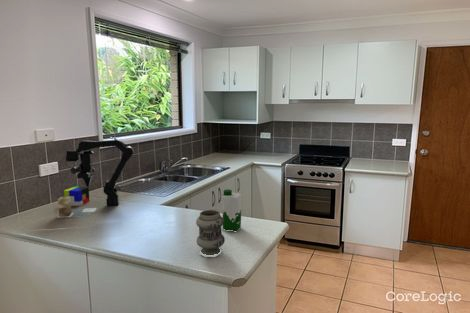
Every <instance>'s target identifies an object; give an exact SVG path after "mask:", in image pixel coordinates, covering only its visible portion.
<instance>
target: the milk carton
mask: <svg viewBox="0 0 470 313" xmlns="http://www.w3.org/2000/svg"><path fill="white" fill-rule="evenodd" d="M221 201H222V218H223V219H224V224H223V225H222V230H223V229H225V230H233V231H237V230H238V229H239V228H240V229H241V226H242V193H237V192H233V190H232V189H224V190H223V194H222V195H221ZM240 229H239V230H240ZM239 230H238V231H239ZM238 231H237V232H238Z"/></svg>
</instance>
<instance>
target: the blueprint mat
mask: <svg viewBox="0 0 470 313" xmlns="http://www.w3.org/2000/svg"><path fill="white" fill-rule="evenodd" d="M96 210H97V207H90V208H78V209H77V208H75V209H73V208H71V211H72V214H71V215H70V216H66V217H59V214H58V215H57V216H56V217H55V219H59V218H60V219H61V218H63V219H65V218H78V217H79V218H80V217H91V216H92V214H93V213H94V212H95V211H96Z"/></svg>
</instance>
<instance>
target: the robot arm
mask: <svg viewBox="0 0 470 313" xmlns="http://www.w3.org/2000/svg"><path fill="white" fill-rule="evenodd" d="M107 147H116V148H117V149H118V150H120V151H121V152H122V153H121V157H120V160H119V163H118V164H117V167H116V168H115V170H114V172H113V174H112V176H111V178H110V179H107V180H106V181H105V184H104V186H103V187H102V188H103V189H102V192H103V194H105V195H106V197H107V198H106V199H105V200H106V201H105V202H106V206H107V207H118V206H119V205H120V200H119V198H120V196H119V194H118V193H119V190H118V189H117V188H116V185H117V182H118V179H119V177H120V176H121V173H122V172H123V171H124V168H125V166H126V163H127V162H128V161H129V159H131V157H132V156H133V154H134V151H135V150H134V148H133V147H132V146H130V145H129V146H128V144H126V143H124V142H123V141H121V140H120V139H119V138H117V139H110V140H109V139H108V140H107V139H106V140H89V139H87V140H86V139H85V140H82V141H80V142H79V143H78V148H77V149H76V150H66V154H65V155H66V156H65V161H66V162H67V163H75V162H78V161H80V163H79V164H78V166H72V167H71V168H70V173H71V174H72V175H75V174H76V173H78V174H76V178H77V179H82V180H83V181H84V183H85V187H89V186H90V185H91V181H92V179H93V176H94V174H93V173H96V171H97V170H96V168H95V167H93V166H92V164H93V162H92V157H91V155H93V154H94V153H95V152H94V151H93V150H92V149H97V148H98V149H99V148H107ZM82 151H83V152H82ZM89 188H90V187H89Z"/></svg>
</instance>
